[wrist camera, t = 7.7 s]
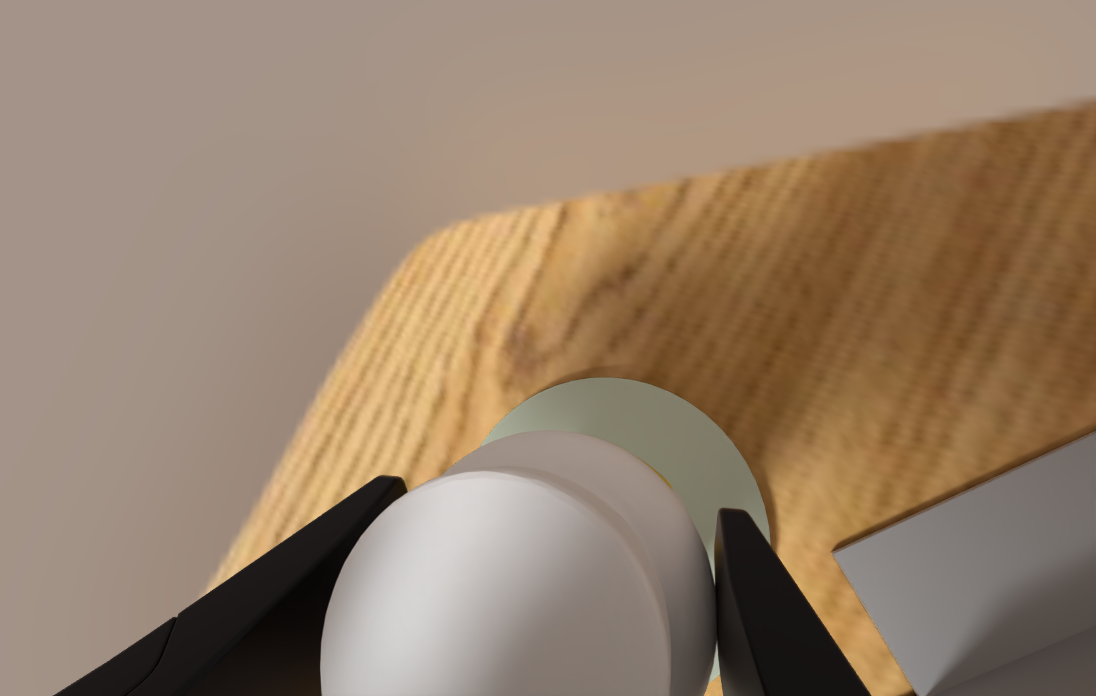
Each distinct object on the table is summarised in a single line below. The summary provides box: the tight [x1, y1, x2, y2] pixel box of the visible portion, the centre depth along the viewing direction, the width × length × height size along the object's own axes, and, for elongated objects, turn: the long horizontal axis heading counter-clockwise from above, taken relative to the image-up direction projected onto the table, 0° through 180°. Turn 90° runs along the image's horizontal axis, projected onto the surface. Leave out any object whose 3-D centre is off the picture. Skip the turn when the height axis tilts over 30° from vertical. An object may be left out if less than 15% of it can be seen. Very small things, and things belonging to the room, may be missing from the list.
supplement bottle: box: [320, 430, 717, 696], centre depth 10 cm, size 5×5×10 cm
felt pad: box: [480, 377, 771, 682], centre depth 17 cm, size 10×10×1 cm
